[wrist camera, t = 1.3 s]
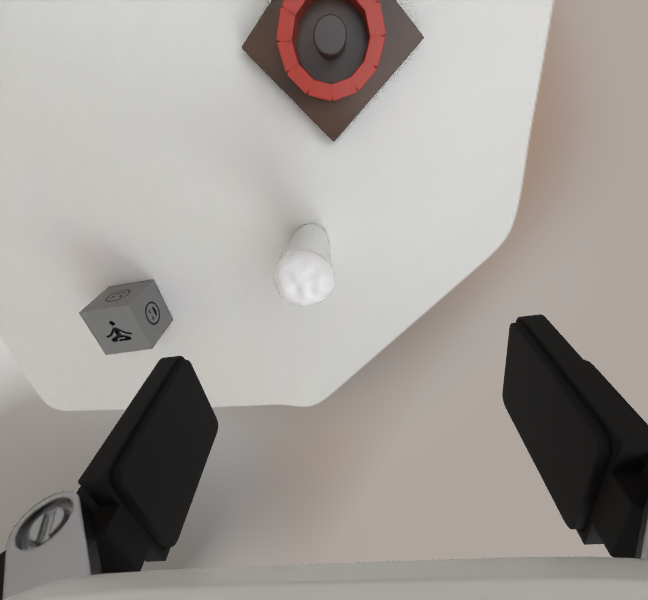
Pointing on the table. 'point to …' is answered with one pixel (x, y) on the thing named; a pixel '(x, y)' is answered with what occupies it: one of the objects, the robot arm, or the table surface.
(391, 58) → the ring holder
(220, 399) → the table surface
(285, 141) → the table surface
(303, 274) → the milkshake
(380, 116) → the table surface
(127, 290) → the dice cube
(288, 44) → the ring
